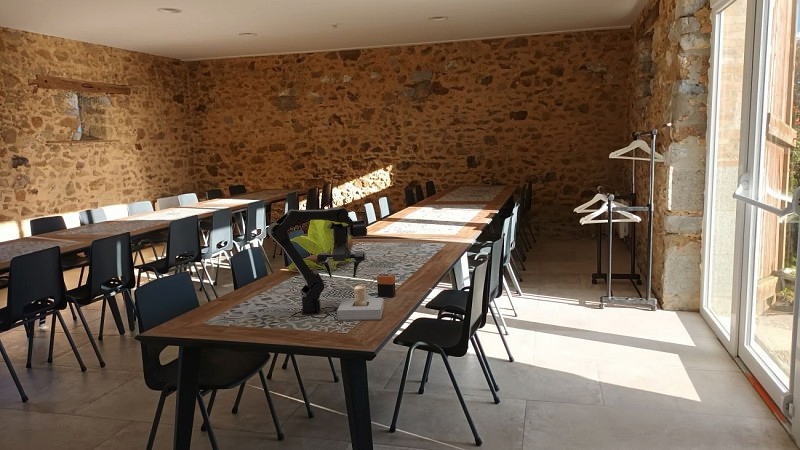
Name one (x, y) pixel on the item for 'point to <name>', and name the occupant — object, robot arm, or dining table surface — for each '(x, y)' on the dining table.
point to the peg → (360, 296)
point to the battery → (386, 285)
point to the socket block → (360, 310)
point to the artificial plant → (318, 241)
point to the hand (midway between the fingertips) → (342, 278)
